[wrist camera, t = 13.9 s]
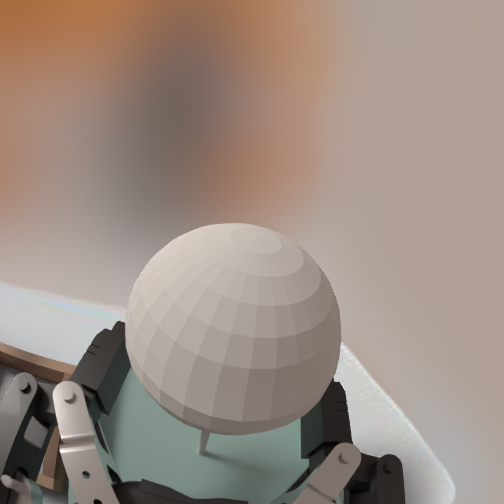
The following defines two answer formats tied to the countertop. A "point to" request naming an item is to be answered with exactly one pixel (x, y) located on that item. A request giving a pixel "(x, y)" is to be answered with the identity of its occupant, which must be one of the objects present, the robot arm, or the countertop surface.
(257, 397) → the lollipop
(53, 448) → the square wooden frame
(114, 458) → the tray
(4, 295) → the countertop surface
